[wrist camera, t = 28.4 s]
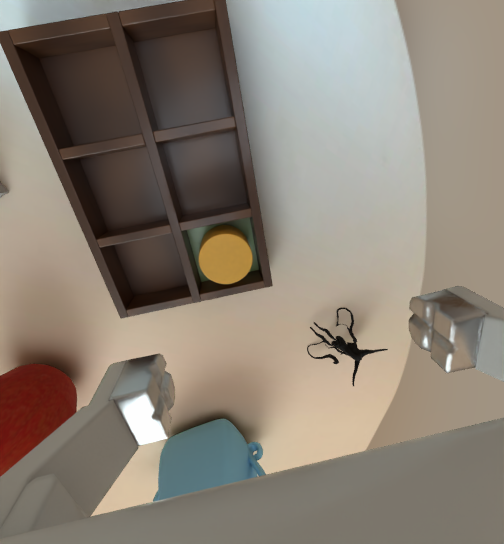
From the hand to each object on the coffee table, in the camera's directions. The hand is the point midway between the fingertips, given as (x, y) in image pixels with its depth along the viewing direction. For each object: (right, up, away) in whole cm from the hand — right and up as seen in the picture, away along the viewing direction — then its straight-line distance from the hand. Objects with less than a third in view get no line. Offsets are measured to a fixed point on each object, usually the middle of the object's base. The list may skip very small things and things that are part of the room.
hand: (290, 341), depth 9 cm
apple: (-25, -10, +24) cm, 37 cm away
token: (-4, +5, +20) cm, 21 cm away
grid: (-9, +11, +17) cm, 22 cm away
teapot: (-9, -24, +32) cm, 41 cm away
